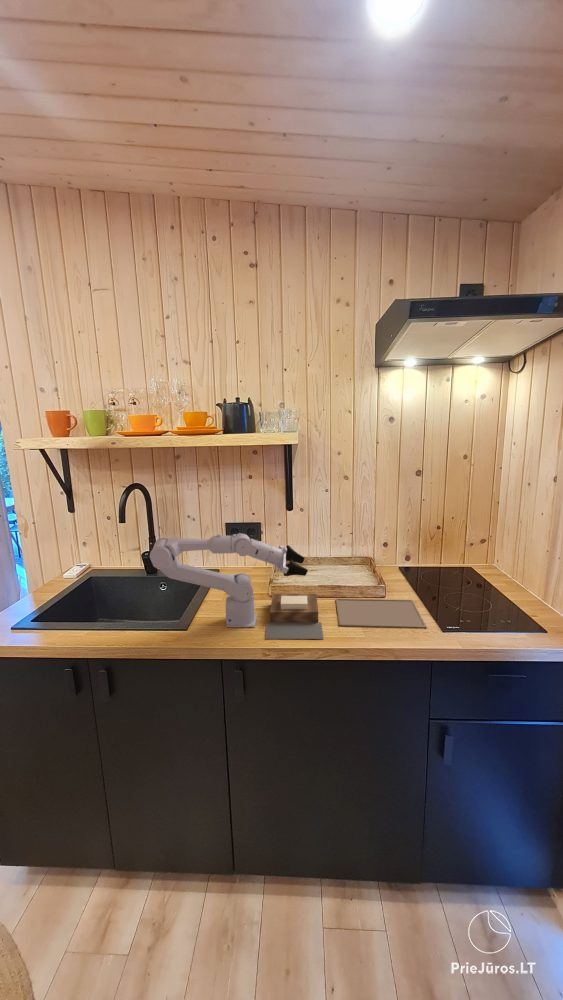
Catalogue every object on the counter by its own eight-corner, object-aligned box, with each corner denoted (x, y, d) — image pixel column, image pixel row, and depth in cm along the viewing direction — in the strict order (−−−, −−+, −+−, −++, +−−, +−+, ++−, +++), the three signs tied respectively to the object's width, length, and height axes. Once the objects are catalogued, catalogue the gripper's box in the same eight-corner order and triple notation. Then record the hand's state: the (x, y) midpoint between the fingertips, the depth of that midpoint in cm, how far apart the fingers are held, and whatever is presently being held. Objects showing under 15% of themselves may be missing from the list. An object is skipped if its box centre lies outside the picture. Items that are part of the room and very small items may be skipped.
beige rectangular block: (280, 609, 136) (280, 603, 135) (281, 601, 142) (281, 595, 141) (307, 609, 136) (307, 603, 135) (307, 601, 141) (307, 595, 141)
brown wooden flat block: (270, 623, 135) (270, 612, 134) (272, 603, 149) (272, 593, 148) (318, 623, 134) (318, 612, 133) (316, 603, 148) (316, 593, 147)
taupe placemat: (339, 627, 132) (426, 629, 130) (339, 624, 132) (426, 626, 130) (335, 601, 151) (412, 602, 149) (335, 598, 151) (412, 599, 148)
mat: (265, 639, 125) (265, 638, 125) (267, 623, 135) (267, 622, 135) (323, 639, 124) (323, 638, 124) (321, 623, 134) (321, 622, 134)
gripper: (274, 554, 125) (313, 568, 128) (271, 533, 138) (307, 546, 141) (265, 573, 127) (303, 586, 130) (263, 550, 140) (298, 562, 143)
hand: (304, 566), depth 136 cm, fingers open, 7 cm apart
